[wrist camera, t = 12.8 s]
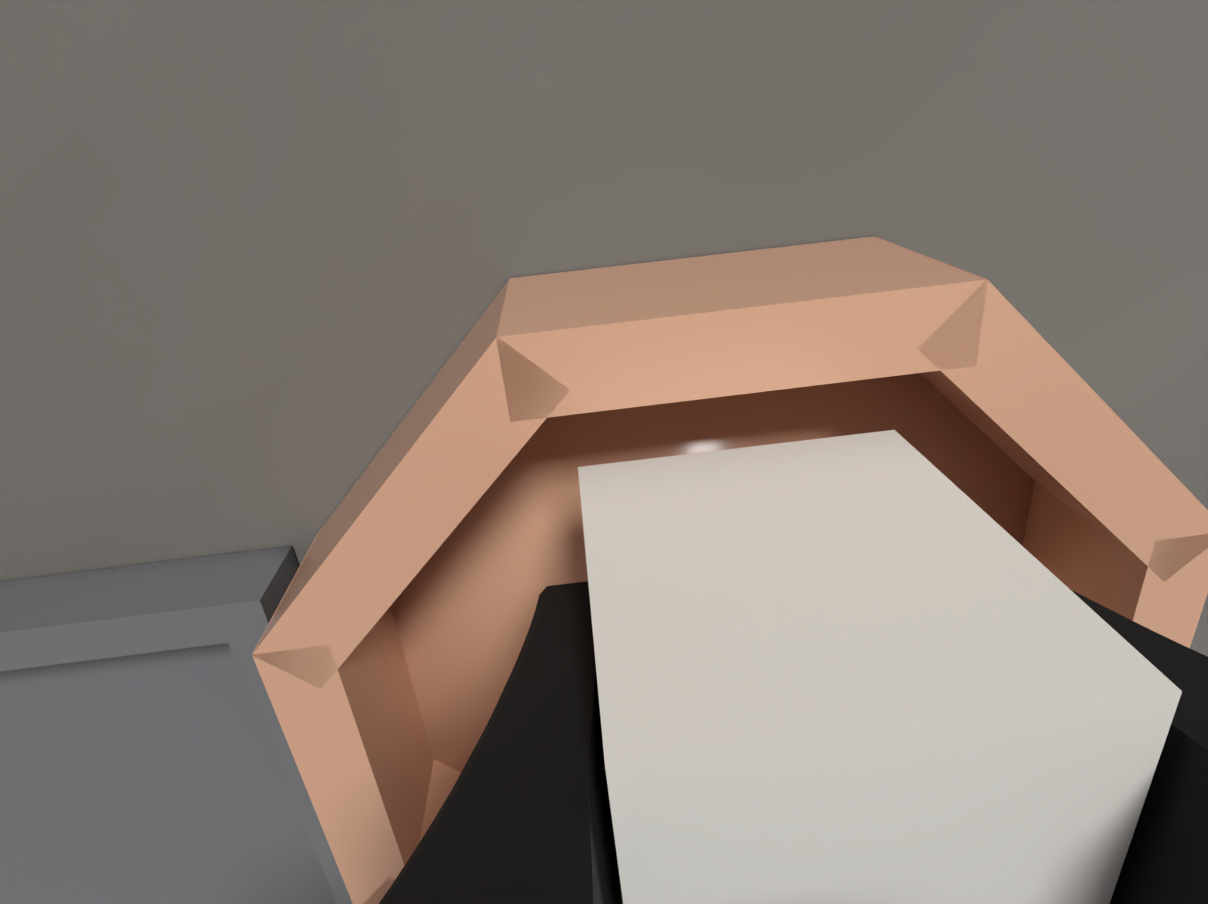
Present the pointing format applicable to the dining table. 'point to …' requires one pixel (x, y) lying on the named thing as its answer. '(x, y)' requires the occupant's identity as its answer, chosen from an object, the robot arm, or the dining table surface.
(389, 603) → the bowl
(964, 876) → the off-white cube
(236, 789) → the tray
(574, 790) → the robot arm
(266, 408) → the dining table surface
